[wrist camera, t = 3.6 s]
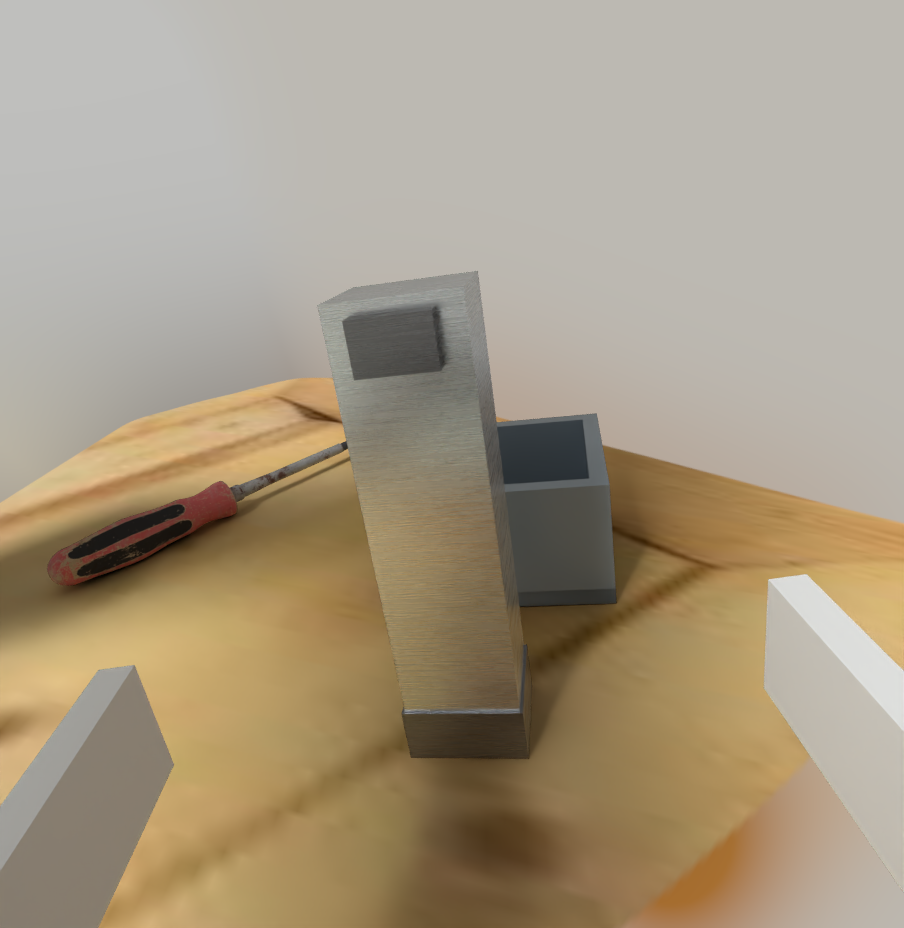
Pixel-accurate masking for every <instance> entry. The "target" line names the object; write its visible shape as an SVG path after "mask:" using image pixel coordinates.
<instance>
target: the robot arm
mask: <svg viewBox="0 0 904 928" xmlns="http://www.w3.org/2000/svg"><path fill="white" fill-rule="evenodd" d="M764 689H765V690H766V692H767V693H768V695H769V696H770V698H771V699H772V701H773V702H774V704H775V705H776V706H777V708H778V709H779V711H780V712H781V714H782V715H783V717H784V718H785V720H786V721H787V723H788V724H789V726H790V727H791V728H792V730H793V731H794V733H795V734H796V736H797V737H798V739H799V740H800V742H801V743H802V745H803V746H804V748H805V749H806V751H807V752H808V753H809V755H810V756H811V758H812V759H813V761H814V762H815V764H816V765H817V767H818V768H819V770H820V771H821V773H822V774H823V775H824V777H825V778H826V780H827V781H828V783H829V784H830V786H831V787H832V789H833V790H834V792H835V793H836V794H837V796H838V797H839V799H840V800H841V802H842V803H843V805H844V806H845V808H846V809H847V811H848V812H849V813H850V815H851V816H852V818H853V819H854V821H855V822H856V824H857V825H858V827H859V828H860V830H861V831H862V833H863V834H864V836H865V837H866V838H867V840H868V842H869V843H870V844H871V846H872V847H873V849H874V850H875V852H876V853H877V855H878V856H879V858H880V859H881V861H882V862H883V864H884V865H885V866H886V868H887V869H888V871H889V872H890V874H891V875H892V877H893V878H894V880H895V881H896V883H897V884H898V885H899V887H900V888H901V890H902V891H903V893H904V671H903V670H902V669H901V668H900V667H899V666H898V665H897V664H896V663H895V662H894V661H893V660H892V659H891V658H890V657H889V656H888V655H887V654H886V653H885V652H884V651H883V650H882V649H881V648H880V647H879V646H878V645H877V644H876V643H875V642H874V641H873V640H872V639H871V638H870V637H869V636H868V635H867V634H866V633H865V632H864V631H863V630H862V629H861V628H860V627H859V626H858V625H857V624H856V623H855V622H854V621H853V620H852V619H851V618H850V617H849V616H848V615H847V614H846V613H845V612H844V611H843V610H842V609H841V608H840V607H839V606H838V605H837V604H836V603H835V602H834V601H833V600H832V599H831V598H830V597H829V596H828V595H827V594H826V593H825V592H824V591H823V590H822V589H821V588H820V587H819V586H818V585H817V584H816V583H815V582H814V581H813V580H812V579H811V578H810V577H809V576H808V575H807V574H805V575H798V576H790V577H783V578H775V579H768V599H767V623H766V647H765V671H764ZM173 766H174V764H173V761H172V759H171V756H170V753H169V751H168V748H167V746H166V743H165V741H164V738H163V736H162V733H161V731H160V728H159V726H158V723H157V721H156V718H155V716H154V713H153V711H152V708H151V706H150V703H149V701H148V698H147V696H146V693H145V690H144V688H143V685H142V683H141V680H140V678H139V675H138V673H137V670H136V668H135V665H132V666H124V667H117V668H110V669H102V670H98V672H97V673H96V674H95V676H94V677H93V678H92V680H91V681H90V683H89V684H88V685H87V687H86V688H85V690H84V691H83V692H82V694H81V695H80V696H79V698H78V699H77V701H76V702H75V703H74V705H73V706H72V708H71V709H70V710H69V712H68V713H67V714H66V716H65V717H64V719H63V720H62V721H61V723H60V724H59V726H58V727H57V728H56V730H55V731H54V732H53V734H52V735H51V737H50V738H49V739H48V741H47V742H46V744H45V745H44V746H43V748H42V749H41V750H40V752H39V753H38V755H37V756H36V757H35V759H34V760H33V762H32V763H31V764H30V766H29V767H28V768H27V770H26V771H25V773H24V774H23V775H22V777H21V778H20V780H19V781H18V782H17V784H16V785H15V786H14V788H13V789H12V791H11V792H10V793H9V795H8V796H7V798H6V799H5V800H4V802H3V803H2V804H1V806H0V928H98V927H99V925H100V923H101V920H102V918H103V916H104V914H105V912H106V910H107V907H108V905H109V903H110V901H111V899H112V897H113V895H114V892H115V890H116V888H117V886H118V884H119V882H120V880H121V877H122V875H123V873H124V871H125V869H126V867H127V864H128V862H129V860H130V858H131V856H132V854H133V852H134V849H135V847H136V845H137V843H138V841H139V839H140V837H141V834H142V832H143V830H144V828H145V826H146V824H147V822H148V819H149V817H150V815H151V813H152V811H153V809H154V806H155V804H156V802H157V800H158V798H159V796H160V794H161V791H162V789H163V787H164V785H165V783H166V781H167V779H168V776H169V774H170V772H171V770H172V768H173Z"/></svg>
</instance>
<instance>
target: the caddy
mask: <svg viewBox="0 0 904 928" xmlns="http://www.w3.org/2000/svg"><path fill="white" fill-rule="evenodd" d="M497 430H498V438H499V446H500V454H501V462H502V470H503V478H504V487H505V495H506V503H507V511H508V519H509V527H510V535H511V543H512V551H513V559H514V567H515V575H516V583H517V591H518V599H519V607H523V606H551V605H579V604H606V603H616V586H615V569H614V552H613V535H612V518H611V501H610V485H609V479H608V474H607V468H606V463H605V457H604V452H603V446H602V441H601V435H600V430H599V424H598V418H597V414H587V415H574V416H564V417H552V418H541V419H530V420H518V421H507V422H497Z"/></svg>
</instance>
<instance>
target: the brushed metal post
mask: <svg viewBox="0 0 904 928" xmlns="http://www.w3.org/2000/svg"><path fill="white" fill-rule="evenodd" d="M317 307H318V311H319V316H320V320H321V325H322V329H323V334H324V339H325V344H326V348H327V353H328V357H329V362H330V367H331V371H332V376H333V381H334V385H335V390H336V395H337V399H338V404H339V409H340V413H341V418H342V422H343V427H344V432H345V436H346V441H347V446H348V450H349V455H350V460H351V464H352V469H353V473H354V478H355V483H356V487H357V492H358V497H359V501H360V506H361V511H362V515H363V520H364V524H365V529H366V534H367V538H368V543H369V548H370V552H371V557H372V562H373V566H374V571H375V575H376V580H377V585H378V589H379V594H380V599H381V603H382V608H383V613H384V617H385V622H386V626H387V631H388V636H389V640H390V645H391V650H392V654H393V659H394V664H395V668H396V673H397V677H398V682H399V687H400V691H401V696H402V701H403V705H404V707H403V711H402V718H403V723H404V728H405V732H406V737H407V741H408V746H409V750H410V755H411V758H529V742H530V721H531V699H532V681H531V673H530V665H529V656H528V648H527V645H524V640H523V632H522V623H521V615H520V607H519V599H518V591H517V583H516V575H515V567H514V559H513V551H512V543H511V535H510V527H509V519H508V511H507V503H506V495H505V487H504V478H503V470H502V462H501V454H500V446H499V438H498V430H497V422H496V414H495V406H494V398H493V390H492V382H491V374H490V366H489V358H488V350H487V343H486V335H485V325H484V317H483V309H482V302H481V293H480V286H479V277H478V271H474V272H466V273H459V274H451V275H444V276H437V277H429V278H421V279H414V280H406V281H399V282H392V283H384V284H376V285H369V286H361V287H354V288H351V289H349V290H347V291H345V292H343V293H341V294H339V295H337V296H335V297H333V298H331V299H329V300H327V301H325V302H323V303H321V304H319V305H318V306H317Z"/></svg>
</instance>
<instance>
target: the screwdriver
mask: <svg viewBox="0 0 904 928" xmlns="http://www.w3.org/2000/svg"><path fill="white" fill-rule="evenodd" d="M346 449H348V446H347V441H346V442H343V443H341V444H337V445H334V446H332V447H330V448H327V449H325V450H323V451H321V452H318V453H316V454H314V455H311V456H309V457H307V458H304V459H302V460H300V461H297V462H295V463H293V464H290V465H288V466H286V467H283V468H281V469H279V470H276V471H274V472H272V473H269V474H267V475H264V476H262V477H259V478H256V479H254V480H251V481H249V482H246V483H244V484H241V485H235V486H233V487H230V488H229V487H228V485H227V484H226V483H224V482H223V481H219V482H217V483H214V484H212V485H211V486H210V487H208V488H207V489H205V490H204V491H202V492H201V493H199V494H197V495H195V496H193V497H189V498H185V499H179V500H175V501H173V502H171V503H169V504H167V505H164V506H161V507H159V508H156V509H153V510H150V511H146V512H143V513H140V514H136V515H133V516H130V517H127V518H124V519H121V520H119V521H117V522H115V523H113V524H111V525H109V526H107V527H105V528H103V529H101V530H99V531H97V532H95V533H93V534H92V535H90V536H88V537H86V538H84V539H82V540H80V541H78V542H76V543H74V544H72V545H70V546H68V547H66V548H64V549H62V550H60V551H58V552H57V553H56V554H55V555H54V556H53V557H52V558H51V560H50V561H49V564H48V568H47V570H48V574H49V576H50V578H51V579H52V580H53V581H54V582H55V583H57V584H60V585H67V586H68V585H75V584H79V583H81V582H84V581H86V580H89V579H91V578H94V577H97V576H100V575H102V574H105V573H108V572H111V571H114V570H116V569H119V568H122V567H125V566H128V565H130V564H133V563H135V562H138V561H140V560H142V559H144V558H146V557H148V556H150V555H151V554H153V553H155V552H156V551H158V550H160V549H161V548H163V547H165V546H167V545H168V544H170V543H172V542H174V541H176V540H178V539H180V538H182V537H184V536H186V535H188V534H191V533H192V532H194V531H195V530H197V529H198V528H199V527H200V526H202V525H204V524H206V523H207V522H210V521H213V520H216V519H220V518H225V517H229V516H232V515H234V514H236V512H237V503H236V502H238V501H240V500H242V499H244V497H246V496H248V495H250V494H252V493H254V492H256V491H258V490H260V489H262V488H264V487H266V486H268V485H270V484H272V483H274V482H277V481H279V480H281V479H283V478H286V477H288V476H290V475H292V474H294V473H297V472H299V471H301V470H303V469H306V468H308V467H310V466H312V465H315V464H317V463H319V462H321V461H324V460H326V459H328V458H330V457H332V456H335V455H337V454H339V453H341V452H343V451H344V450H346Z"/></svg>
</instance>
